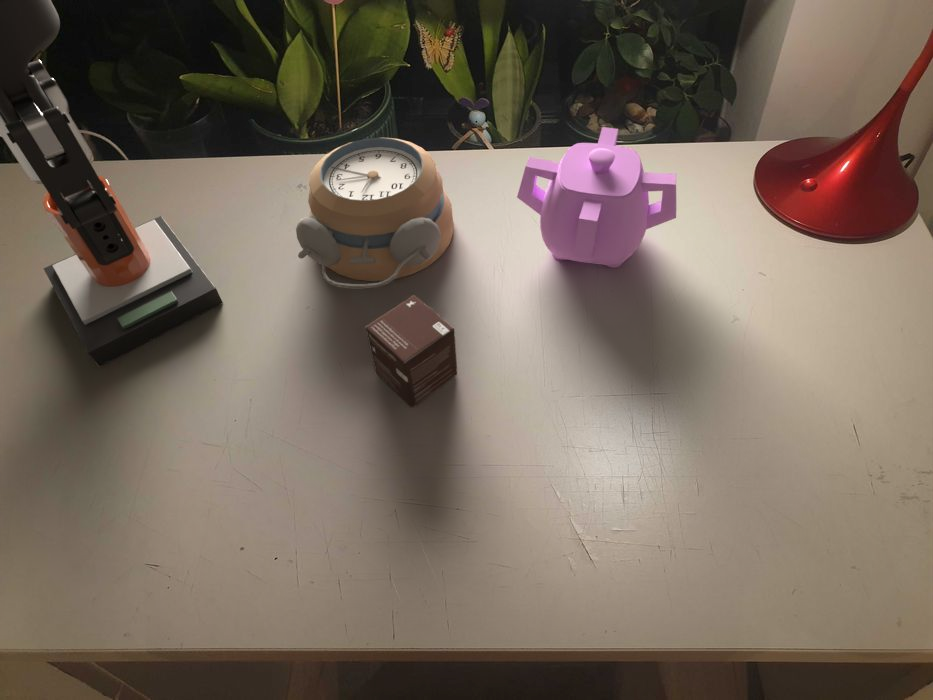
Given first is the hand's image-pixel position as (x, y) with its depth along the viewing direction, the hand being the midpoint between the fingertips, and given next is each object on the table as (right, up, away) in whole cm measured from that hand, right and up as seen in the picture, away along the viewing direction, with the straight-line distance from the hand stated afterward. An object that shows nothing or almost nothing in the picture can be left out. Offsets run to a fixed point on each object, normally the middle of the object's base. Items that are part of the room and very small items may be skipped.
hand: (95, 222), depth 42 cm
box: (+19, -11, +24) cm, 32 cm away
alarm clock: (+14, +4, +36) cm, 38 cm away
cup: (-15, +1, +31) cm, 34 cm away
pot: (+38, +4, +35) cm, 52 cm away
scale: (-14, -2, +33) cm, 35 cm away
